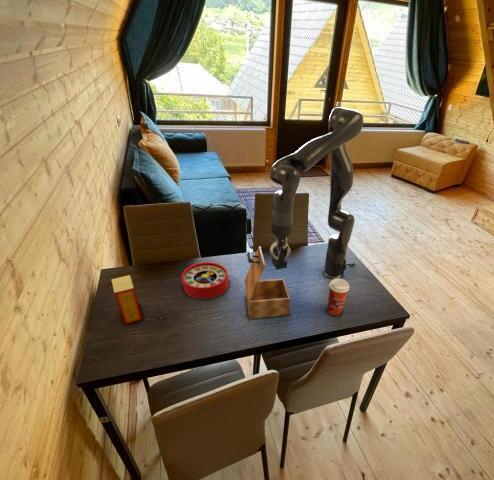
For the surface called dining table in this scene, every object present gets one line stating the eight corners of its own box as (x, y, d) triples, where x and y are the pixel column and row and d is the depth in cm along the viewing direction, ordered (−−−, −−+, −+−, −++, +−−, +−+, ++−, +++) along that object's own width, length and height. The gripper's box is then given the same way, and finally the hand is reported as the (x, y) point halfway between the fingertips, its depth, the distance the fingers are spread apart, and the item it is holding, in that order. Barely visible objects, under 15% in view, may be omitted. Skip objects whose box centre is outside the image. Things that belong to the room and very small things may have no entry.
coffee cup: (331, 319, 132) (337, 291, 123) (321, 307, 137) (325, 280, 128) (347, 314, 135) (354, 286, 126) (336, 302, 141) (342, 275, 132)
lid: (260, 246, 125) (247, 243, 123) (265, 265, 115) (251, 262, 112) (246, 280, 134) (234, 278, 132) (249, 301, 123) (236, 299, 121)
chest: (282, 294, 143) (284, 278, 138) (289, 315, 132) (290, 298, 127) (245, 297, 140) (245, 281, 134) (249, 318, 129) (248, 302, 124)
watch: (291, 266, 125) (293, 243, 118) (272, 270, 122) (273, 246, 115) (285, 258, 129) (288, 235, 122) (267, 262, 126) (268, 238, 119)
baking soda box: (121, 309, 128) (110, 278, 119) (138, 304, 131) (129, 273, 122) (125, 324, 122) (114, 292, 112) (142, 319, 125) (133, 287, 115)
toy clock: (213, 257, 153) (236, 277, 141) (214, 267, 156) (236, 287, 145) (173, 271, 141) (195, 294, 130) (175, 282, 145) (197, 305, 133)
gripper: (296, 229, 108) (292, 270, 119) (288, 212, 119) (285, 250, 130) (275, 230, 107) (273, 271, 117) (268, 212, 118) (267, 251, 128)
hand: (279, 260), depth 123 cm, fingers closed on watch, 4 cm apart
